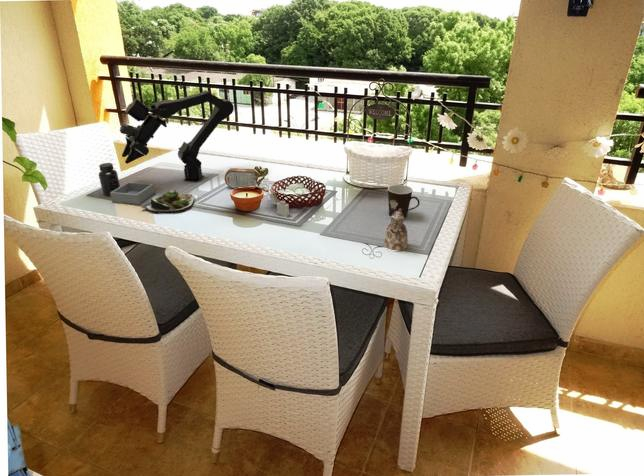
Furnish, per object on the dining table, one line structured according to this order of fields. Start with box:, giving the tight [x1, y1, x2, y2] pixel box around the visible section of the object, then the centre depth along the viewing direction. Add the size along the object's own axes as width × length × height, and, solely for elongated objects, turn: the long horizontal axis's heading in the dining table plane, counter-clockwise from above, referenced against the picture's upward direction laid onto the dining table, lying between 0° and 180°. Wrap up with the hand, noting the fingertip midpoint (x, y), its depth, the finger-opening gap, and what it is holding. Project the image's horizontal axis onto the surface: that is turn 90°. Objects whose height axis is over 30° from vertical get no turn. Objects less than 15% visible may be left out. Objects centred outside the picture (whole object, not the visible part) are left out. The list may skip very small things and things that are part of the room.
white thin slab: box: [268, 191, 290, 217], centre depth 162 cm, size 7×2×8 cm, turn 63°
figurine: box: [383, 209, 409, 251], centre depth 140 cm, size 7×7×12 cm
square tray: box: [110, 181, 156, 206], centre depth 177 cm, size 12×12×4 cm
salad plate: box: [141, 189, 196, 215], centre depth 172 cm, size 19×18×5 cm
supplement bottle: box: [98, 162, 121, 197], centre depth 179 cm, size 7×7×12 cm
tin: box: [224, 167, 263, 190], centre depth 184 cm, size 15×3×8 cm, turn 84°
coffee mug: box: [387, 184, 421, 219], centre depth 159 cm, size 12×9×10 cm
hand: (124, 159), depth 179 cm, fingers open, 9 cm apart
